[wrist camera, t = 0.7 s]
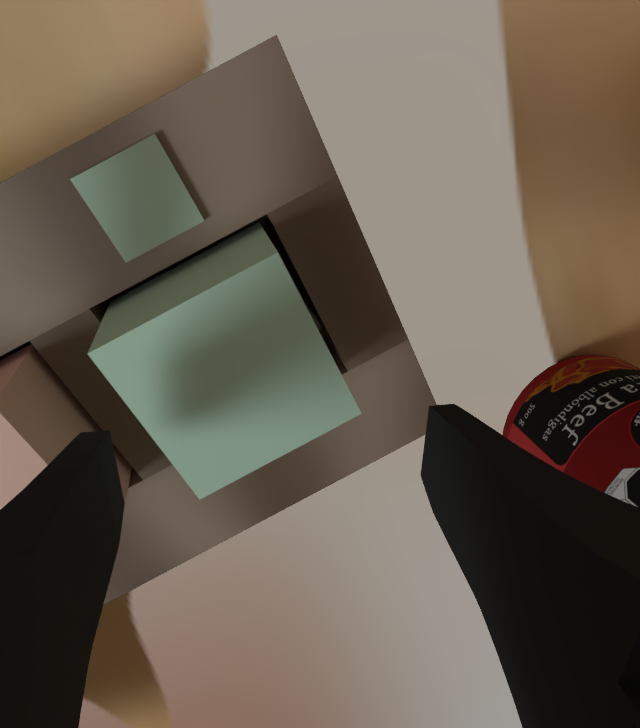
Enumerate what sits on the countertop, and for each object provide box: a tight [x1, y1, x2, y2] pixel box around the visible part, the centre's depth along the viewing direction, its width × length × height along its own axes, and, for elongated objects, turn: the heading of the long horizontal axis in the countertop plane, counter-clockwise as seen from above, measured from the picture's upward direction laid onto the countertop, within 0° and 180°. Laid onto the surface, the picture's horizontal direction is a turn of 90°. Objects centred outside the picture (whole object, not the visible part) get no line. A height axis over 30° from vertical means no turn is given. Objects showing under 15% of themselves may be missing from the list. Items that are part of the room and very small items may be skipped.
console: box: [0, 35, 436, 605], centre depth 19 cm, size 25×13×5 cm, turn 115°
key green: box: [87, 223, 362, 500], centre depth 16 cm, size 5×5×4 cm
